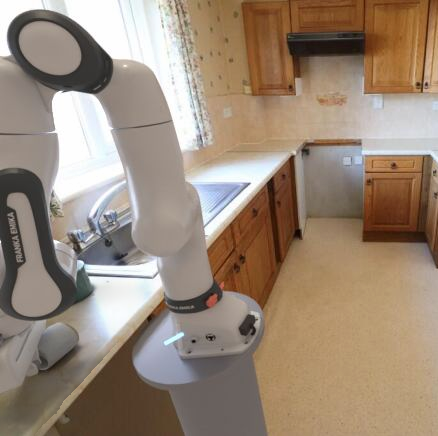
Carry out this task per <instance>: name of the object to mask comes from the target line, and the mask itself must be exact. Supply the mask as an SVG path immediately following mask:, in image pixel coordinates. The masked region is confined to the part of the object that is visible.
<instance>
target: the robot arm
mask: <svg viewBox="0 0 438 436" xmlns="http://www.w3.org/2000/svg"><path fill="white" fill-rule="evenodd" d="M6 44H7V49H8V51H9V53H10V55H4V56H2V55H0V394H4V393H7V392H10V391H13V390H15V389H18V388H20V387H21V386H22V385H23V383H24V381H25V379H26V376H27V377H33V376H37V375H38V374H39V371H40V369H39V368H40V366H41V363H42V362H41V360H40V359H39V353H38V347H37V346H38V343H39V341H40V338H41V336H42V333H43V331H44V330H45V329H46V326H47V322H48V320H49V319H52V318H55V317H57V316H59V315H61V314H63V313H65V312H66V311H68V310H69V309H70V308H71V307H72V306H73V305H74V304H75V303H74V302H75V300H76V297H77V285H76V276H77V260H79V259H78V255H77V254H78V253H76V250H74V248H73V247H72V246H71V245H69V244H68V243H66V242H64V241H61V240H56V239H54V233H53V229H52V228H53V227H52V223H51V217H50V208H51V207H50V205H51V197H52V194H53V193H52V192H53V189H54V185H55V182H56V179H57V175H58V173H59V166H60V142H59V141H60V140H59V134H58V131H57V130H58V129H57V125H56V120H55V119H56V118H55V114H54V102H55V99H56V97H57V95H59V94H64V93H69V92H76V93H77V92H78V93H83V94H86V95H87V94H88V95H92V96H93V97H94V98H95V99H96V100H97V102H98V103H99V105H100V107H101V110H102V112H103V114H104V116H105V120H106V123H107V125H108V128H109V131H110V134H111V136H112V140H113V142H114V145H115V148H116V151H117V154H118V156H119V157H118V158H119V159H120V162H121V165H122V169H123V172H124V178H125V184H126V193H127V197H128V198H127V200H128V204H129V205H128V206H129V209H130V217H131V234H130V235H131V239H132V242H133V244H134V245H135V247H136V248H137V249H138V250H139V251H141V253H143V254H145V255H148V256H150V257H154V258H156V268H157V271H158V274H159V278H160V281H161V284H162V288H163V290H164V291H163V297H164V301H165V305H166V307H167V308H168V309H169V310H170V313H171V318H172V328H173V333H172V338H171V339H169V340H167V341H165V342H164V343H165V345H167V344H169V343H171V342H173V344H174V346H175V347H176V348H177V349H178V351H179V357H180V358H181V359H191V358H202V357H214V356H225V355H237V354H242V353H243V352H245V351H246V350H247V349H248V348H249V347H250V346H251V345H252V343H253V342H254V340H255V339H256V337H257V335H258V332H259V330H260V326H261V317H260V314H259V313H258V312H254V311H250V309H249V307H248V305H247V303H246V302H245V301H243V300H241V299H239V298H237V297H236V296H235V295H231V294H229V293H227V292H225V291H226V290H223V289H224V287H225V281H222V282H221V283H220V284H219V283H218V281H217V280H216V278H214V276H213V272H212V267H211V263H210V260H209V259H210V258H209V256H208V248H207V239H206V230H205V223H204V217H203V209H202V204H201V197H200V194H199V192H198V190H197V188H196V187H195V186H194V185H193V184H192V183H190V182H188V181H187V180H186V176H185V167H184V156H183V152H182V148H181V146H180V142H179V141H180V140H179V137H178V134H177V130H176V127H175V124H174V120H173V116H172V113H171V110H170V107H169V104H168V101H167V98H166V96H165V94H164V91H163V89H162V87H161V84H160V82H159V80H158V78H157V76H156V74H155V73H154V71H153V70H152V69H151V68H150V67H149V66H148V65H146V64H145V63H142V62H140V61H138V60H133V59H126V58H121V59H120V58H118V59H117V58H112V57H111V55H110V53H108V52H107V51H106V50H105V49H104V48H103V47H102V46H101V45H100V44H99V43H98V42H97V41H96V39H95V37H93V35H91V33H90V32H89V31H88V30H86V28H84V27H83V26H82V25H81V24H80V23H78V22H77V21H76V20H74V19H72V18H71V17H69V16H67V15H65V14H63V13H61V12H58V11H54V10H50V9H44V8H43V9H41V8H37V9H29V10H26V11H23V12H21V13H19V14H18V15H16V16H15V17H14V18H13V19H12V20H11V21H10V23H9V25H8V27H7V30H6ZM189 353H190V354H189Z"/></svg>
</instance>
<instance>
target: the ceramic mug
mask: <svg viewBox="0 0 438 436" xmlns="http://www.w3.org/2000/svg"><path fill="white" fill-rule="evenodd" d="M79 341H80V335H79V332H78V331H77V330H76V328H75V327H74V326H72V325H71V324H69V323H67V322H63V321H60V322H56V323H54V324H52V325H49V326H48V327H46V328H44V331H43V333H42V336H41V338H40V341H39V343H38V346H37V347H38V353H39V359H40V360H41V362H42V363H41V366H40V368H39V371H47V370H49V369H51V367H52V366H54V365H55V364H56V363H57V362H59V361H60V360H61V359H63V357H64V356H65V355H66V354H68V353H69V352H70V351H71V350H73V349H74V348H75V347H76V346H77V345H78V343H79Z"/></svg>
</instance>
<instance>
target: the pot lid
mask: <svg viewBox="0 0 438 436" xmlns="http://www.w3.org/2000/svg"><path fill="white" fill-rule="evenodd" d="M83 268H85V262H84V261H83V260H81V259H78V260H77V273H78V272H79V271H81V270H82V269H83Z"/></svg>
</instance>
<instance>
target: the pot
mask: <svg viewBox="0 0 438 436" xmlns="http://www.w3.org/2000/svg"><path fill="white" fill-rule="evenodd" d="M76 285H77V297H76V300H75V302H74V303H73V304H76V303H78V302H80V301H82V300H84V299H85V298H87V297H88V296H89V295H91V293H92V292H93V290H94V288H93V284H92V282H91V279H90V277H89V274H88V273H87V271H86V267H84V268H83V269H82V270H81V271H79V272H78V273H77V276H76Z"/></svg>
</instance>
